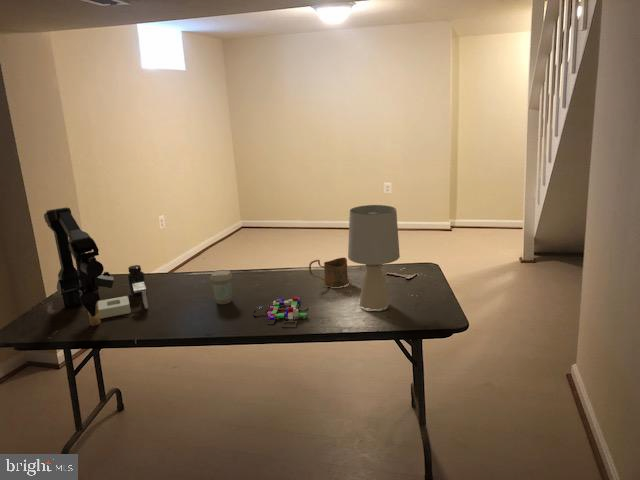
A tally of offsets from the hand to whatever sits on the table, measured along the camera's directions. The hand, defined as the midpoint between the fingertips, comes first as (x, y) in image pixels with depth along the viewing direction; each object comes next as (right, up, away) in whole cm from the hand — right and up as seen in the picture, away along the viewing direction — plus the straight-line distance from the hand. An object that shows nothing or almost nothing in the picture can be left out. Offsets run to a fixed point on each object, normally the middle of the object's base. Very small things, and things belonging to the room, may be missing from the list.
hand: (93, 311), depth 186 cm
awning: (+12, 0, +16) cm, 20 cm away
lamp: (+103, +1, +5) cm, 103 cm away
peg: (0, -5, +1) cm, 5 cm away
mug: (+87, +7, +28) cm, 91 cm away
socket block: (+3, -1, +12) cm, 12 cm away
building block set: (+68, -2, +3) cm, 68 cm away
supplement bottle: (+6, +3, +29) cm, 30 cm away
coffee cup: (+44, +2, +16) cm, 47 cm away
